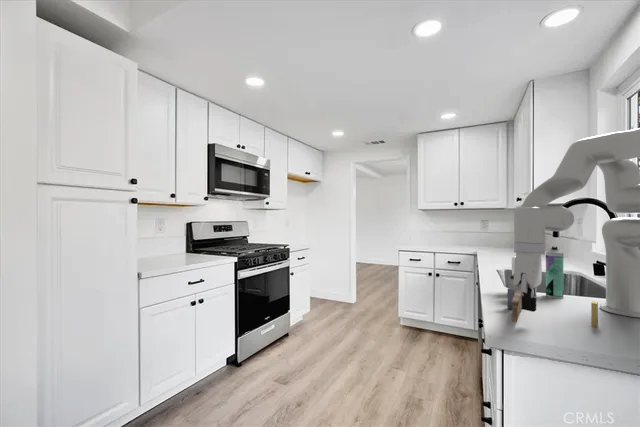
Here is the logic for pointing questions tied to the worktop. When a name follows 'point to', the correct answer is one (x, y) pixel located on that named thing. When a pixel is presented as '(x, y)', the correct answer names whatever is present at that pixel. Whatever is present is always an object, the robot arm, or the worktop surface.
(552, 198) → the robot arm
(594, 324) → the post
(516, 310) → the gate leaf
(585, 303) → the worktop surface
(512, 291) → the hinge post
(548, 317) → the worktop surface
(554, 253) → the spray can
